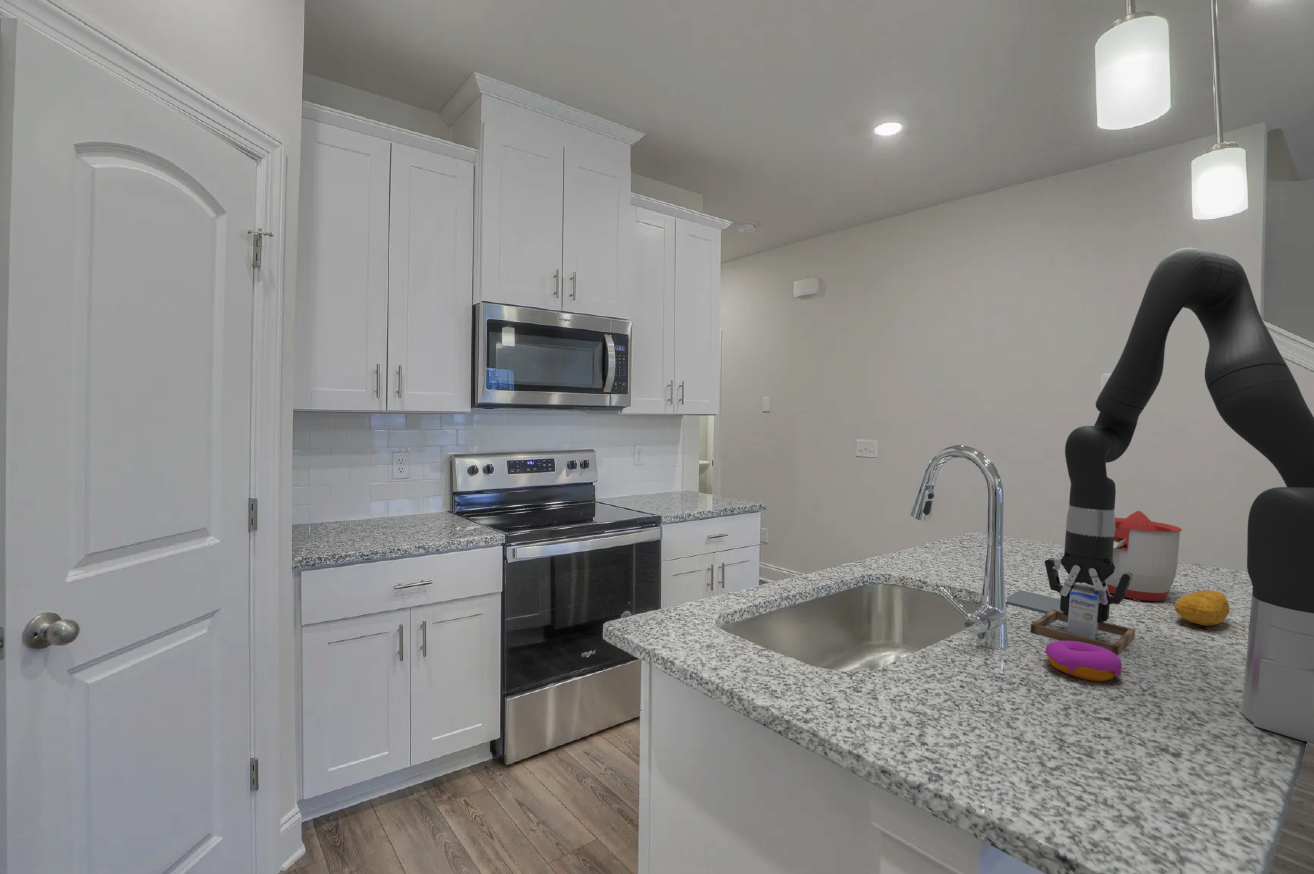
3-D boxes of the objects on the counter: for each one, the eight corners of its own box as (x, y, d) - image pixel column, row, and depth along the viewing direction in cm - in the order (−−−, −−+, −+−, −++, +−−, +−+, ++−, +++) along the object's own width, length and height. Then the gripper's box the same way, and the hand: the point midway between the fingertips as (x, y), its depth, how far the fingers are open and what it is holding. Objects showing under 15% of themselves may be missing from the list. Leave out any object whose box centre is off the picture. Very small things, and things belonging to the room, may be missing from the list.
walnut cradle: (1117, 655, 106) (1117, 647, 106) (1030, 631, 116) (1031, 624, 116) (1134, 637, 115) (1135, 629, 115) (1052, 616, 125) (1053, 609, 125)
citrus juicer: (1070, 587, 147) (1076, 506, 146) (1122, 582, 152) (1128, 504, 151) (1138, 608, 132) (1145, 518, 131) (1193, 602, 138) (1200, 516, 136)
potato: (1237, 623, 124) (1240, 591, 124) (1214, 636, 117) (1217, 602, 117) (1189, 612, 131) (1191, 581, 131) (1165, 623, 124) (1167, 591, 123)
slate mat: (1064, 617, 125) (1064, 615, 125) (1001, 602, 134) (1001, 600, 134) (1080, 606, 133) (1080, 603, 133) (1020, 592, 142) (1020, 590, 142)
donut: (1118, 670, 101) (1120, 643, 100) (1123, 693, 92) (1125, 664, 92) (1045, 654, 106) (1046, 629, 106) (1043, 674, 98) (1045, 647, 98)
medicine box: (1070, 624, 120) (1073, 581, 120) (1098, 630, 117) (1101, 586, 117) (1066, 635, 114) (1069, 590, 114) (1095, 642, 111) (1098, 595, 111)
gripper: (1040, 526, 117) (1035, 612, 118) (1132, 540, 107) (1125, 634, 108) (1052, 522, 122) (1047, 604, 123) (1141, 535, 112) (1134, 625, 113)
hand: (1083, 618), depth 116 cm, fingers closed on medicine box, 5 cm apart
